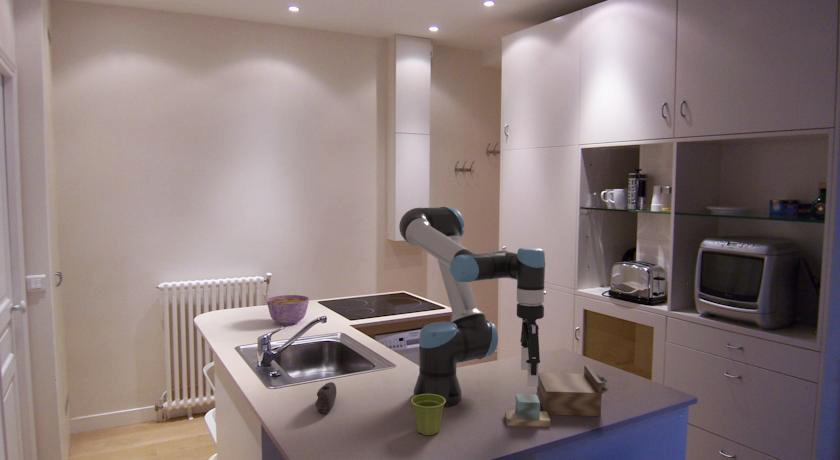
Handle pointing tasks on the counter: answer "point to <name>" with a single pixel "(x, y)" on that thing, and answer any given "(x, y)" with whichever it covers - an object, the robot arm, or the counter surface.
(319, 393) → the perforated stone tool
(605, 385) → the miniature stone ruin
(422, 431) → the plant pot
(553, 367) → the counter surface
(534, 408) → the blue cube on tile
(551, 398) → the dock
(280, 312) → the bowl of food
